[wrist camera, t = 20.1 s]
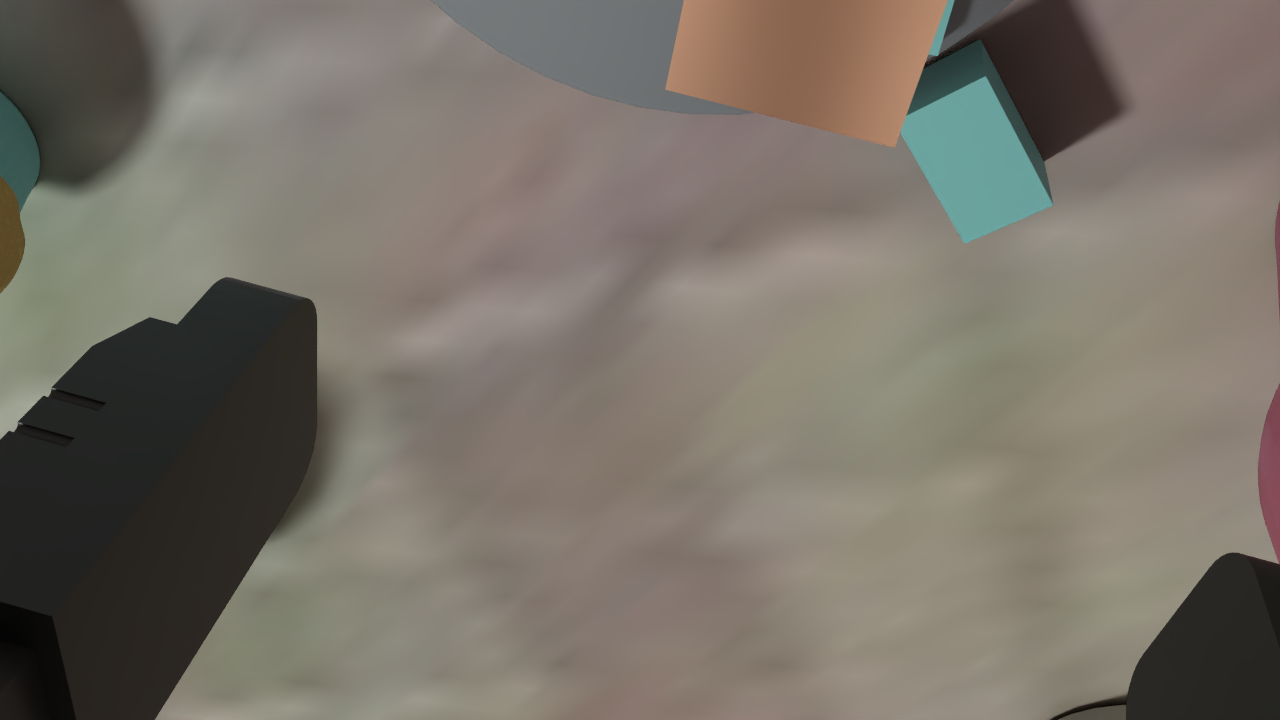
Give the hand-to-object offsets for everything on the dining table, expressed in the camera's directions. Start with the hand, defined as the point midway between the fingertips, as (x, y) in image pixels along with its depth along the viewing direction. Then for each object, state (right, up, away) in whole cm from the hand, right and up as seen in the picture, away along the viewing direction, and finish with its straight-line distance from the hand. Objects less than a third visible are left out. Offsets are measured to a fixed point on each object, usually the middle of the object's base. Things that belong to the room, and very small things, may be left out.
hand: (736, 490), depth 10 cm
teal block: (+8, +8, +20) cm, 23 cm away
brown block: (+3, +11, +15) cm, 19 cm away
